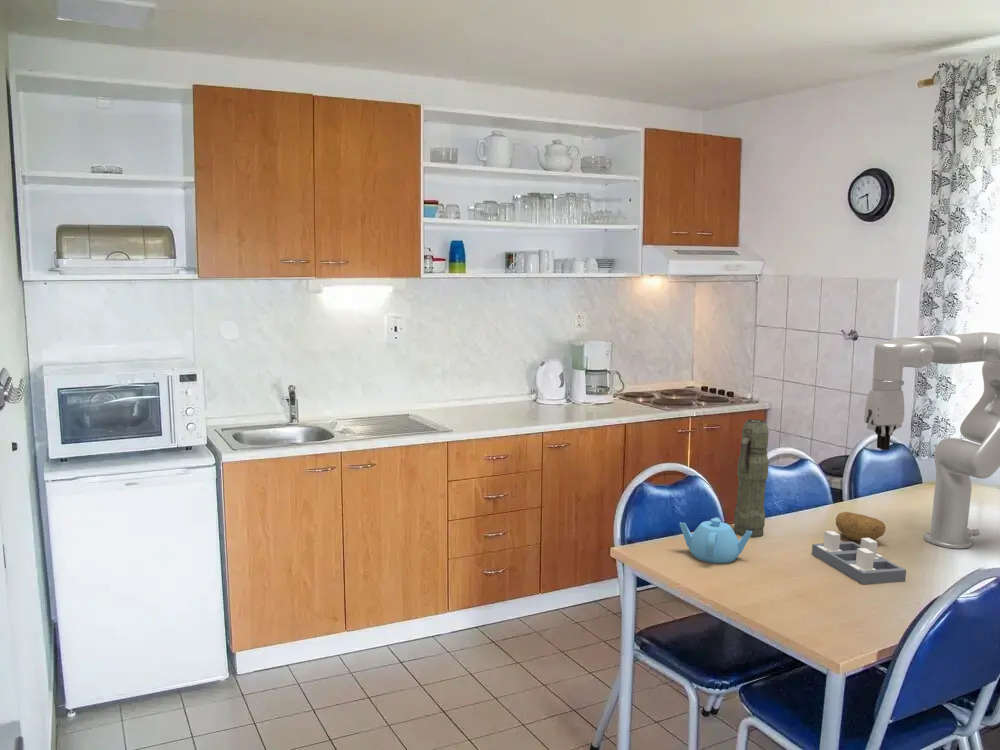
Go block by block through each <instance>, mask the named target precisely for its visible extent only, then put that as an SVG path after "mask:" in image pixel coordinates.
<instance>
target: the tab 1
mask: <svg viewBox="0 0 1000 750" xmlns="http://www.w3.org/2000/svg"><path fill="white" fill-rule="evenodd" d="M840 542H841V534H840V533H837V532H836V531H833V530H824V539H823V543H824V546H822V547H824V548H825V549H827V550H828V551H829V552H837V551H842V550H840V549H839V545H840Z"/></svg>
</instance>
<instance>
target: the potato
mask: <svg viewBox="0 0 1000 750" xmlns="http://www.w3.org/2000/svg"><path fill="white" fill-rule="evenodd" d="M835 525H836V527H837V529H838V532H840V533H841V534H842V535H843V536H844V537H846V538H847V539H849V540H852V541H853V542H858V543H859V542H860V543H861V538H870V539H872V540H874V541H876V540H877V539H879V538H881V537H882V536H884V534H885V533H886V525H885V523H884V521H881V520H880V519H878V518H875V517H870V516H867V515H864V514H860V513H854V512H851V511H849V512H848V511H842V512H839V513H838V514H837V515H836V518H835Z"/></svg>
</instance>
